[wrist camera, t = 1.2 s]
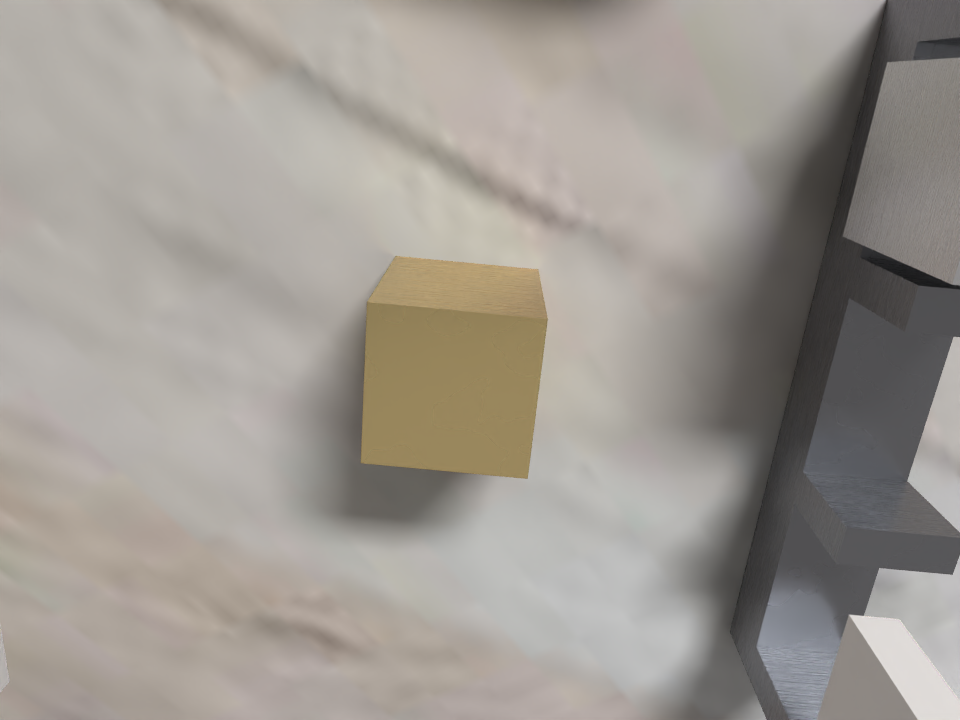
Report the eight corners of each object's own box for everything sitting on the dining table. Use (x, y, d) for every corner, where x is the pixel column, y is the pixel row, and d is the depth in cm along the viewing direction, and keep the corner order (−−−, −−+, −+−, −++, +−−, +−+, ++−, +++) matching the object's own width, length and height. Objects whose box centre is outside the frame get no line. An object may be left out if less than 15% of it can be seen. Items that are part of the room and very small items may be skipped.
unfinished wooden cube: (389, 387, 28) (360, 463, 22) (396, 255, 26) (367, 301, 21) (522, 399, 28) (527, 478, 22) (538, 269, 26) (547, 319, 21)
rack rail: (730, 631, 31) (779, 751, 26) (888, -3, 23) (1013, -32, 17) (816, 639, 31) (885, 761, 26) (1005, 8, 23) (1166, -17, 17)
